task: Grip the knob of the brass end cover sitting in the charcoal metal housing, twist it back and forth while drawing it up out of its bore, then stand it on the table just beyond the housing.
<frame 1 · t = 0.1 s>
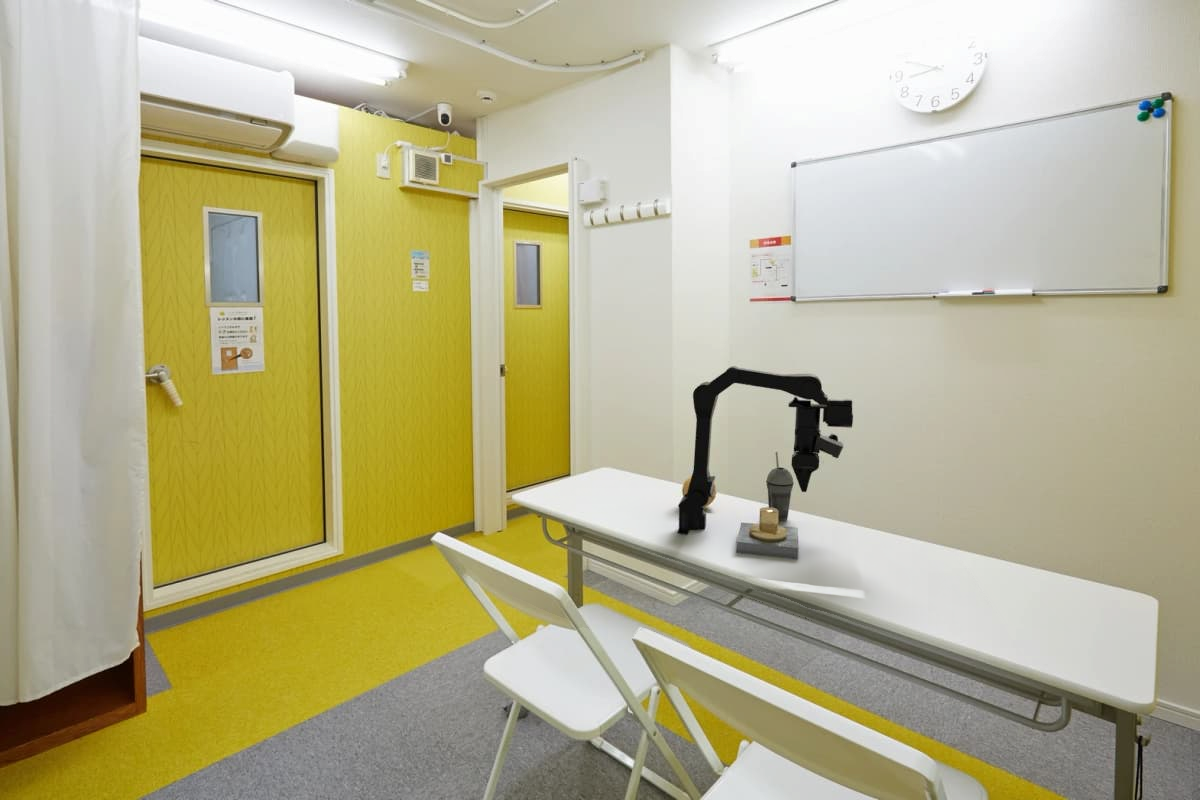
hand: (804, 486, 161), 15 cm above the table, tool pointing down, fingers open, 9 cm apart
housing: (767, 550, 158), on the table
end cover: (767, 545, 158), point 1 cm above the table, touching housing
beverage cup: (778, 523, 177), on the table
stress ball: (698, 508, 190), on the table
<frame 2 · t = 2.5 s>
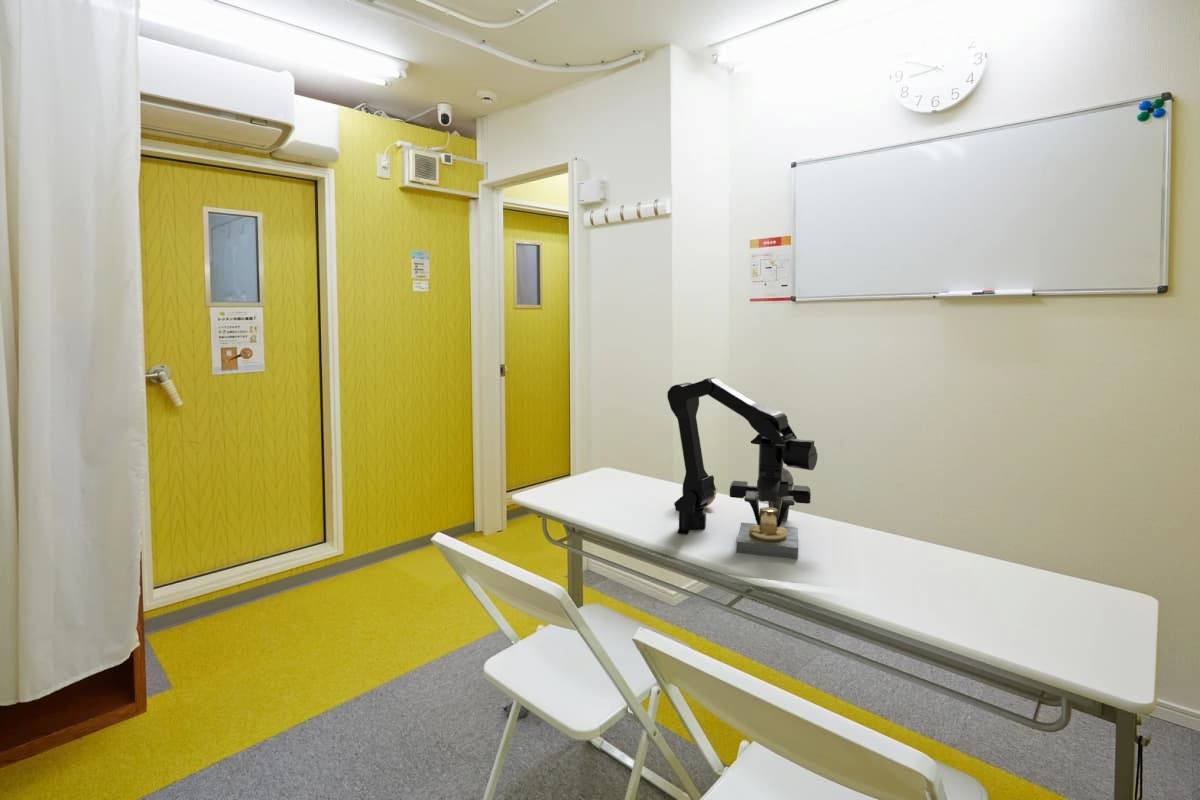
hand: (768, 525, 157), 6 cm above the table, tool pointing down, fingers closed on end cover, 4 cm apart
end cover: (767, 545, 158), point 1 cm above the table, touching gripper, housing
everything else where it was.
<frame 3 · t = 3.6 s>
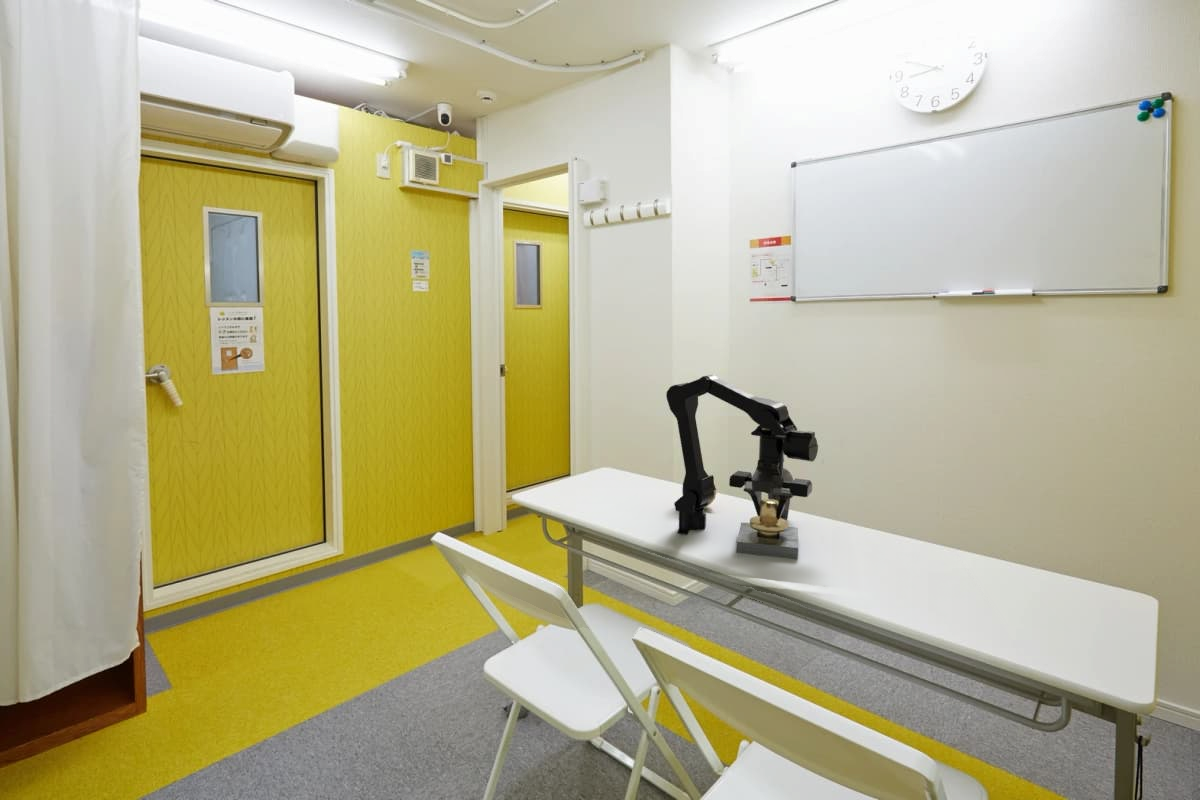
hand: (768, 517, 157), 8 cm above the table, tool pointing down, fingers closed on end cover, 4 cm apart
end cover: (768, 536, 157), point 3 cm above the table, touching gripper
everything else where it was.
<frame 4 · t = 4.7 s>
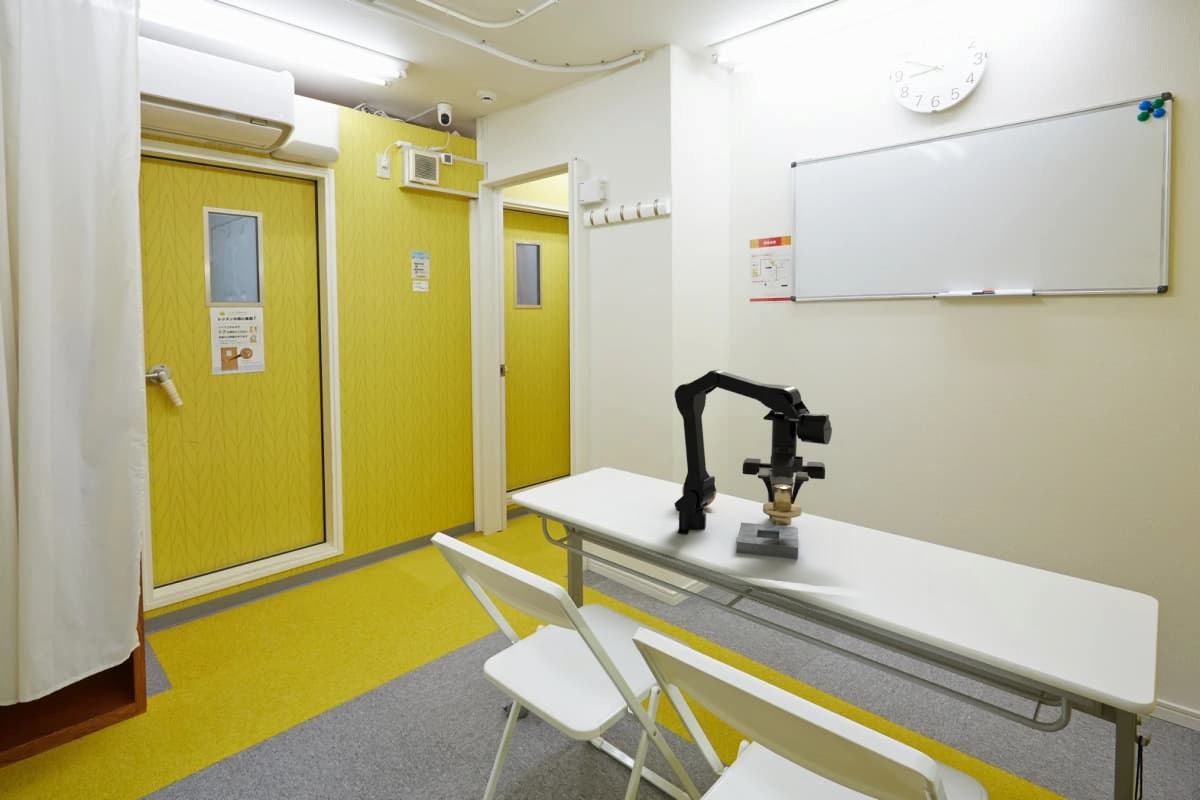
hand: (782, 503, 155), 12 cm above the table, tool pointing down, fingers closed on end cover, 4 cm apart
end cover: (781, 522, 156), point 7 cm above the table, touching gripper
everything else where it was.
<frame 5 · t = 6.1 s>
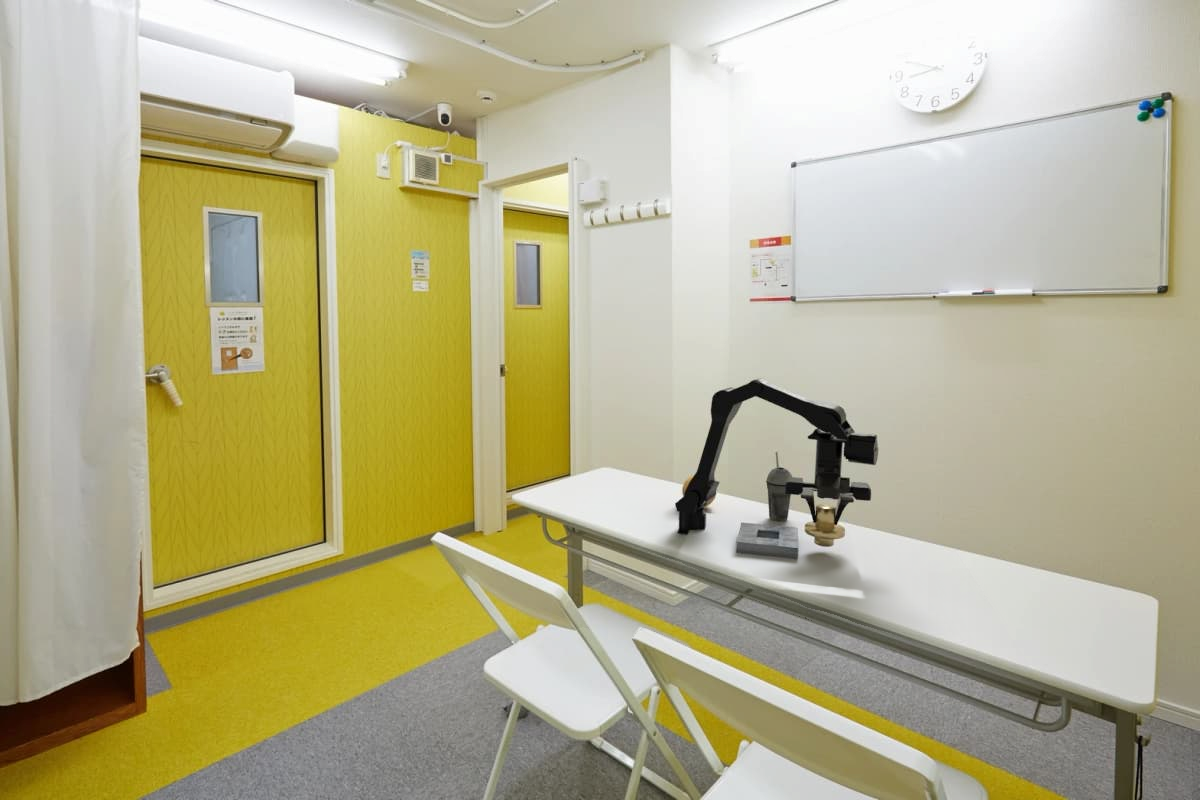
hand: (824, 523, 152), 8 cm above the table, tool pointing down, fingers closed on end cover, 4 cm apart
end cover: (823, 543, 153), point 4 cm above the table, touching gripper
everything else where it was.
when the fingers open (6 cm above the table, at t = 7.2 s): end cover drops 2 cm, on the table.
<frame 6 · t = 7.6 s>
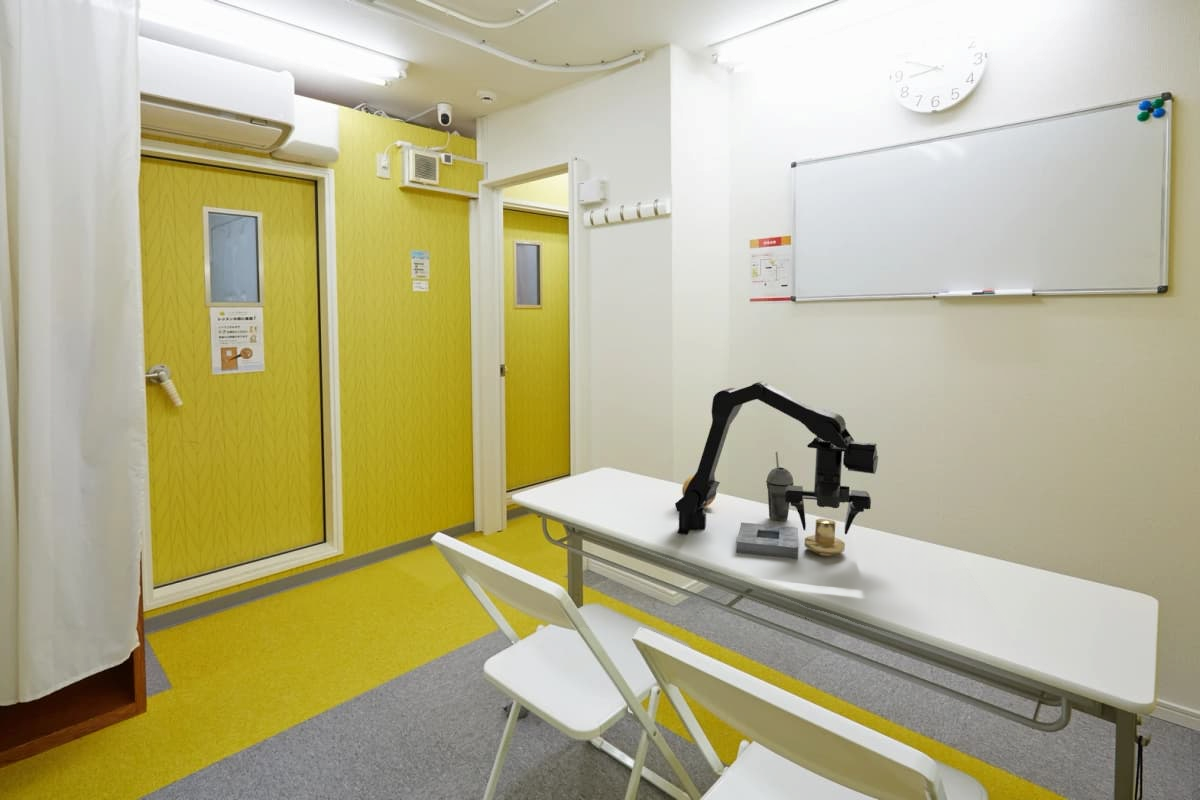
hand: (824, 531, 152), 6 cm above the table, tool pointing down, fingers open, 9 cm apart
end cover: (823, 557, 153), on the table
everything else where it was.
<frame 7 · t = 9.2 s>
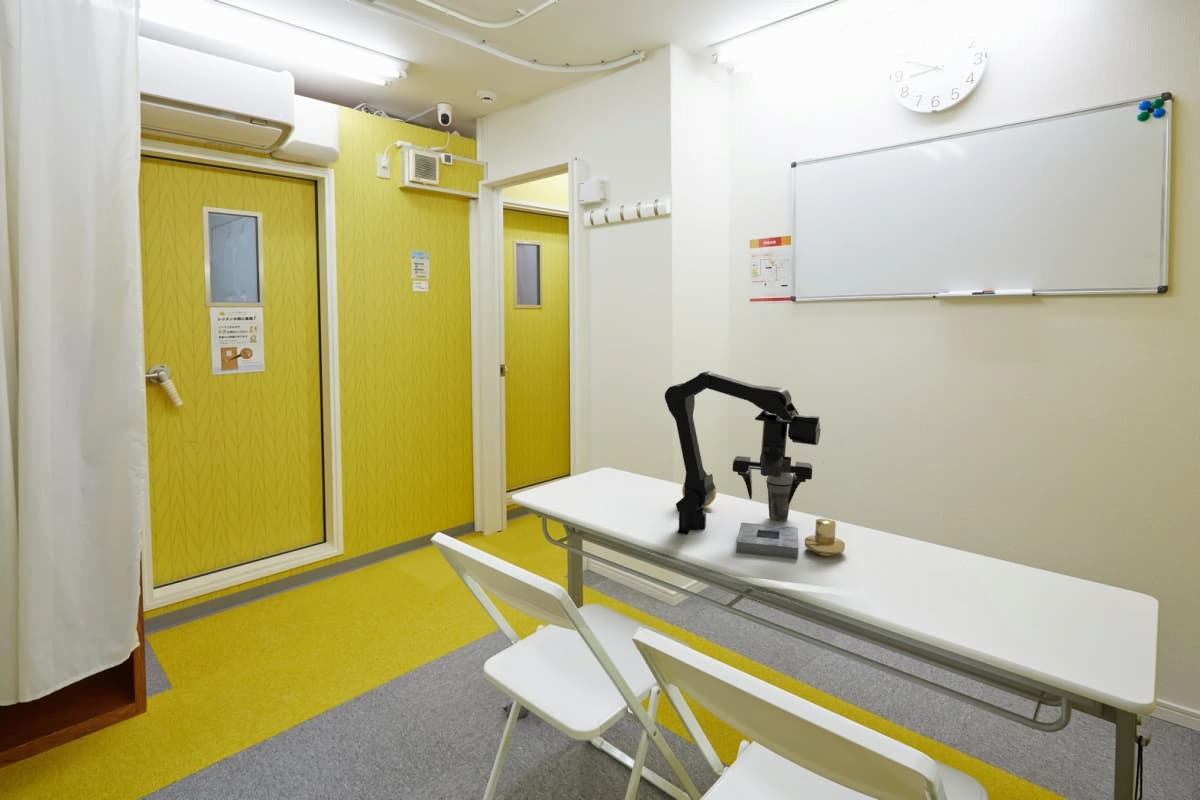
hand: (769, 500, 160), 11 cm above the table, tool pointing down, fingers open, 9 cm apart
nothing on the table moved.
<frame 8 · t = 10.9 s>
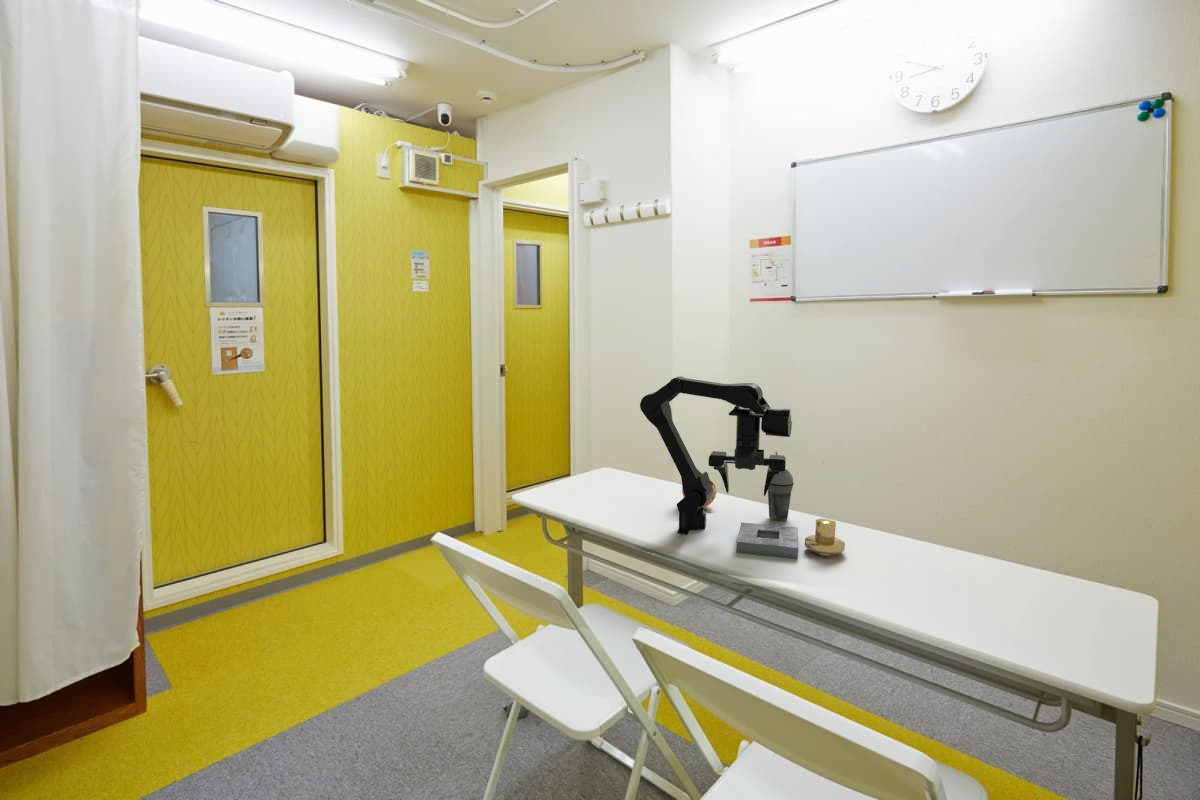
hand: (746, 493, 163), 12 cm above the table, tool pointing down, fingers open, 9 cm apart
nothing on the table moved.
at the end: end cover inside the target area (0.0 cm from its centre), on the table; end cover tilted 1°; the gripper is holding nothing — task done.
